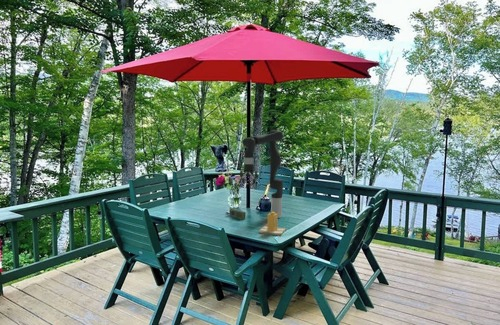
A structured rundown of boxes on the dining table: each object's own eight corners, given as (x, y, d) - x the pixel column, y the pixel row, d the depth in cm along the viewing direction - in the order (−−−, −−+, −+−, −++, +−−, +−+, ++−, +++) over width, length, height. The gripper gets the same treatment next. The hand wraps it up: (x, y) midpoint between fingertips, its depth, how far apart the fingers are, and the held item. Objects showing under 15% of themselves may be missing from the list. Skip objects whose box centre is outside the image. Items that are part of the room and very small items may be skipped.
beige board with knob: (264, 227, 257) (264, 220, 257) (285, 230, 252) (285, 223, 251) (258, 233, 244) (258, 225, 244) (281, 235, 238) (281, 228, 238)
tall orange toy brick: (267, 230, 247) (267, 212, 245) (270, 228, 252) (270, 211, 250) (274, 231, 244) (274, 213, 243) (277, 229, 249) (277, 212, 247)
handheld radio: (243, 220, 279) (224, 214, 298) (245, 219, 282) (227, 213, 300) (243, 212, 279) (225, 207, 297) (246, 211, 281) (227, 206, 300)
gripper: (258, 163, 263) (258, 183, 265) (242, 162, 268) (242, 182, 270) (255, 164, 256) (255, 184, 258) (238, 163, 261) (238, 183, 263)
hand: (248, 183), depth 264 cm, fingers open, 8 cm apart
